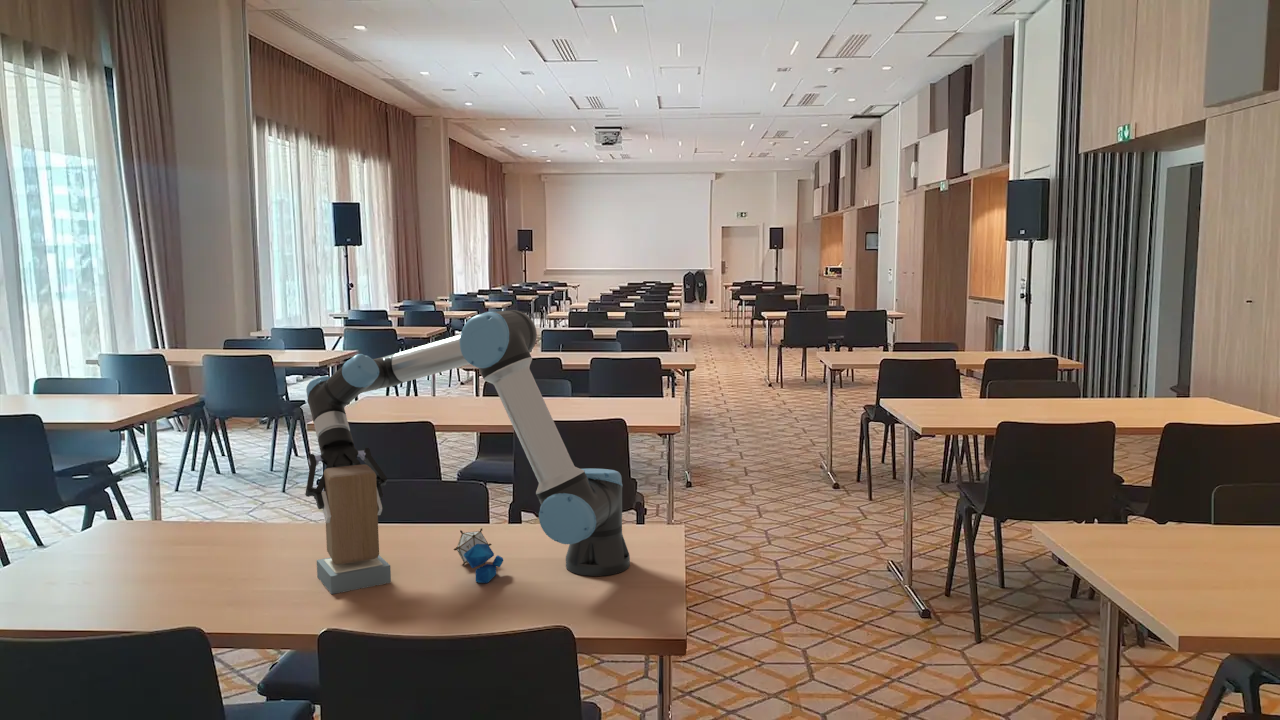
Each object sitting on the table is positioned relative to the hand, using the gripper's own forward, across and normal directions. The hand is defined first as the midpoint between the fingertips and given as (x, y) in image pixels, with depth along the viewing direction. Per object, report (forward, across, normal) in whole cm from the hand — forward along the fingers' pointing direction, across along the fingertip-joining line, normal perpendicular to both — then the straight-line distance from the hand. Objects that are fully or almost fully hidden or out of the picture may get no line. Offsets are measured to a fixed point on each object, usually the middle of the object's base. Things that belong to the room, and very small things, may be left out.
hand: (354, 515), depth 200 cm
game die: (+12, -27, -10) cm, 31 cm away
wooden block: (+5, 0, -9) cm, 11 cm away
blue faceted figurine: (+20, -25, -2) cm, 32 cm away
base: (+9, 0, -13) cm, 16 cm away
